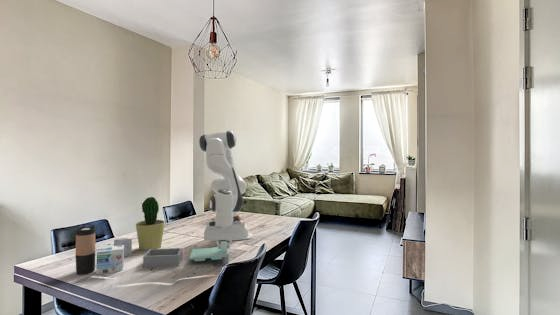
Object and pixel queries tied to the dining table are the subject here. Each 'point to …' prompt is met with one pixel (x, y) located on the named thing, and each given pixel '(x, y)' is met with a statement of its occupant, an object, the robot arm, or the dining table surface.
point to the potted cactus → (150, 226)
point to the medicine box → (126, 243)
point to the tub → (162, 257)
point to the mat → (221, 261)
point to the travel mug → (85, 250)
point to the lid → (209, 253)
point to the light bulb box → (110, 259)
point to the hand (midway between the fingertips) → (224, 248)
